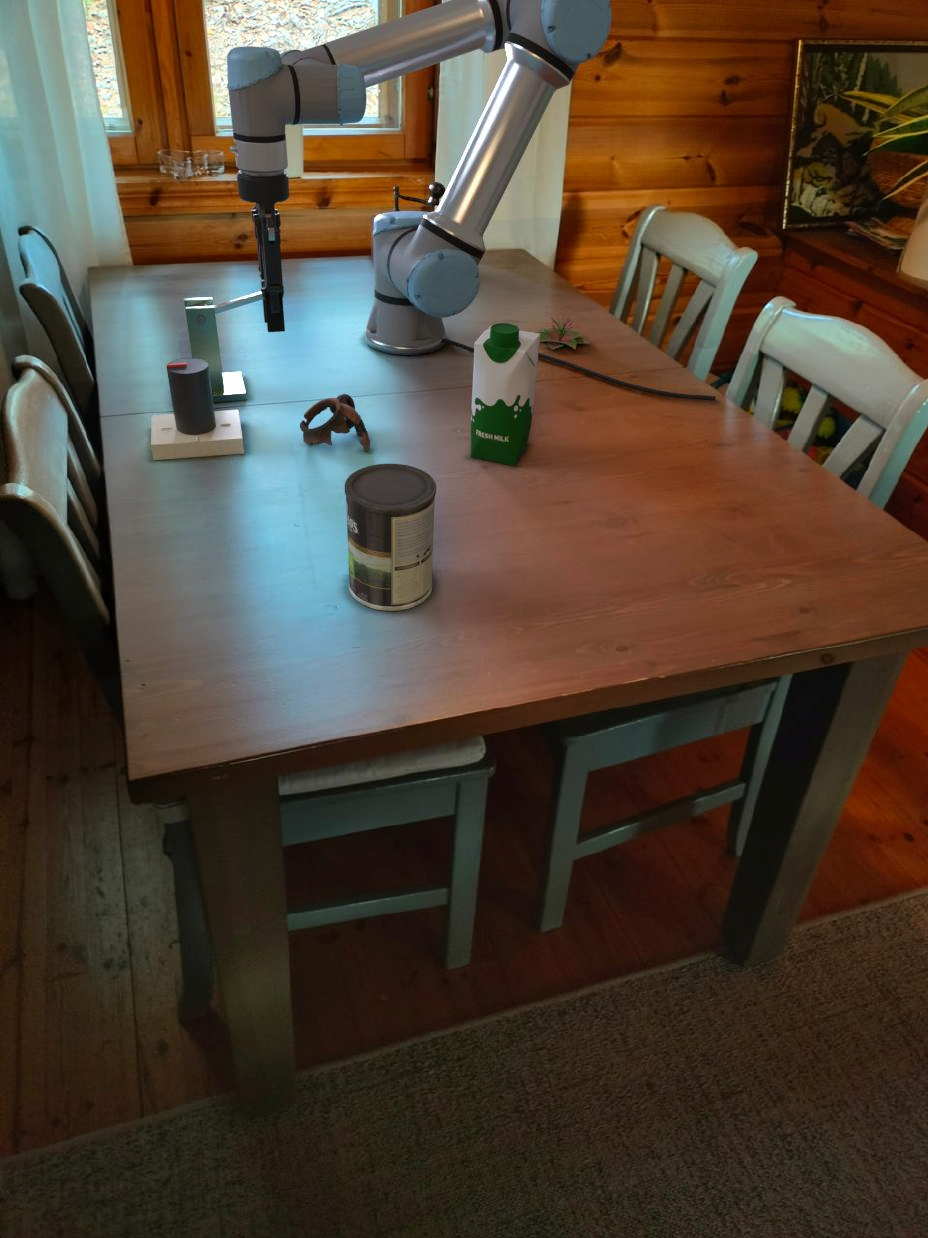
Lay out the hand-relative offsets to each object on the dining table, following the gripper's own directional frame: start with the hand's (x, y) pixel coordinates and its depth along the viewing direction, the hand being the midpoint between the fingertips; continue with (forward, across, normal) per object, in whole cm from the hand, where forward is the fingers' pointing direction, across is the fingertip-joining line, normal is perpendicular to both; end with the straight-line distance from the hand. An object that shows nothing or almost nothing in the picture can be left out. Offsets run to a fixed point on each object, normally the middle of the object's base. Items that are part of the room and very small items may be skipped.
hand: (274, 325), depth 149 cm
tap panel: (+11, +18, -14) cm, 25 cm away
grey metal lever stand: (+11, 0, -11) cm, 15 cm away
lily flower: (+10, -11, +56) cm, 58 cm away
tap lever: (-2, 0, -5) cm, 6 cm away
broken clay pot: (+11, +23, +6) cm, 26 cm away
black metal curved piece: (+11, -65, +38) cm, 76 cm away
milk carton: (+11, +30, +30) cm, 44 cm away
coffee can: (+11, +61, +6) cm, 63 cm away
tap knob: (+8, +18, -15) cm, 25 cm away
